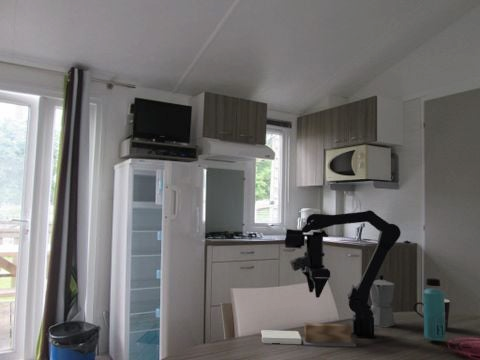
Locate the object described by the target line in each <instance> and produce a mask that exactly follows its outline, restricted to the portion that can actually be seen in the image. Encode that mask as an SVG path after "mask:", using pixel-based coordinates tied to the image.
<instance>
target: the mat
mask: <svg viewBox="0 0 480 360" xmlns="http://www.w3.org/2000/svg"><path fill="white" fill-rule="evenodd" d="M300 337H301V336H300ZM301 344H302V345H303V346H307V347H308V346H309V347H310V346H311V347H312V346H313V347H314V346H316V347H319V346H320V347H347V348H348V347H352V348H353V347H357V344H356V343H355V342H354V341H353V340H352V339H351V343H330V342H306V341H305V340H304V336H303V337H301Z"/></svg>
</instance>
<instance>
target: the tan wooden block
mask: <svg viewBox="0 0 480 360" xmlns="http://www.w3.org/2000/svg"><path fill="white" fill-rule="evenodd" d="M303 337H304V340H305V341H306V342H330V343H351V340H352V332H351V325H350V323H347V324H346V323H314V322H307V323H306V322H304V336H303Z"/></svg>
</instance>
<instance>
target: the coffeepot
mask: <svg viewBox="0 0 480 360" xmlns="http://www.w3.org/2000/svg"><path fill="white" fill-rule="evenodd" d="M378 277H379V279H375V280H374V282H373V285H372V287H371V289H370V294H369V296H370V299H371V302H372V303H371V304H372V305H371V306H370V307H371V309H372V311H373V317H374V324H375V325H378V326H377V327H379V326H393V325H394V326H396V323H395V316H394V313H393V312H394V311H393V307H392V302H393V300H394V299H393V298H394V292H395V291H394V290H395V285H396V284H395V283H393V282H391V281H387V279H385V278H384V275H382V274H379V275H378ZM394 326H393V327H394Z"/></svg>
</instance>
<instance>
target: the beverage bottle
mask: <svg viewBox="0 0 480 360" xmlns="http://www.w3.org/2000/svg"><path fill="white" fill-rule="evenodd" d="M440 281H441V280H440V279H439V278H434V277H433V278H432V277H431V278H430V277H428V278H426V282H425V285H426V286H429V287H428V288H426V289H424V290H423V292H422V297H423V302H422V303H423V304H424V306H423V314H422V316H424V318H423V335H424V338H426V339H429V340H433V341H445V340H446V338H447V335H446V331H447V330H446V325H445V304H444V299H445V292H444V291H443V290H441V289H439V288H430V286H431V287H440V286H441V282H440Z"/></svg>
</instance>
